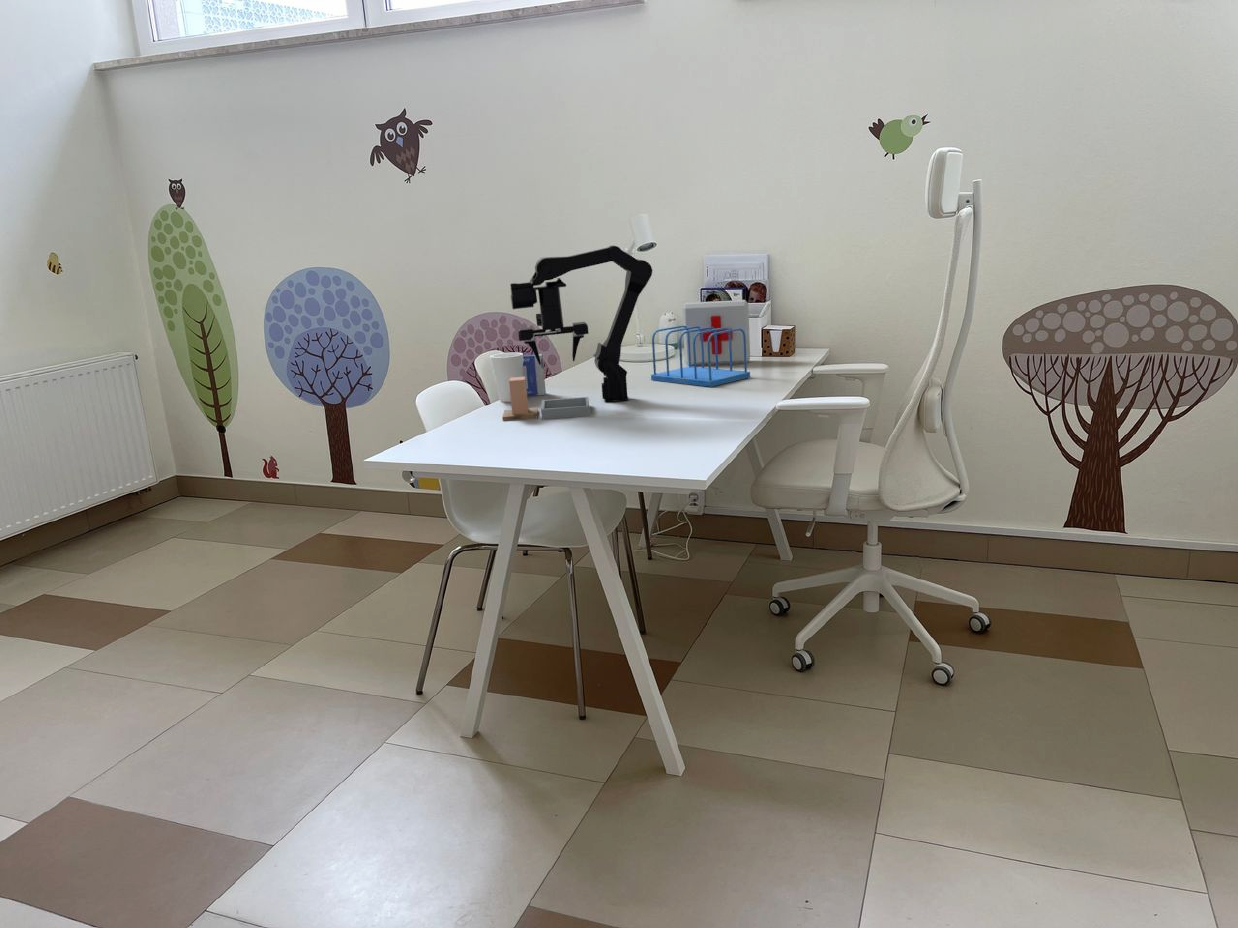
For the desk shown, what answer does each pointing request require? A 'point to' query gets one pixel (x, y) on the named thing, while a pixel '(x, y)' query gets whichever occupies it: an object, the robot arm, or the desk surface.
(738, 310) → the bevelled white case
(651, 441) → the desk surface
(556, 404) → the tray
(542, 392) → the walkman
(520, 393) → the block
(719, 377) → the file sorter
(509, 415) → the coaster
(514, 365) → the foam cup
